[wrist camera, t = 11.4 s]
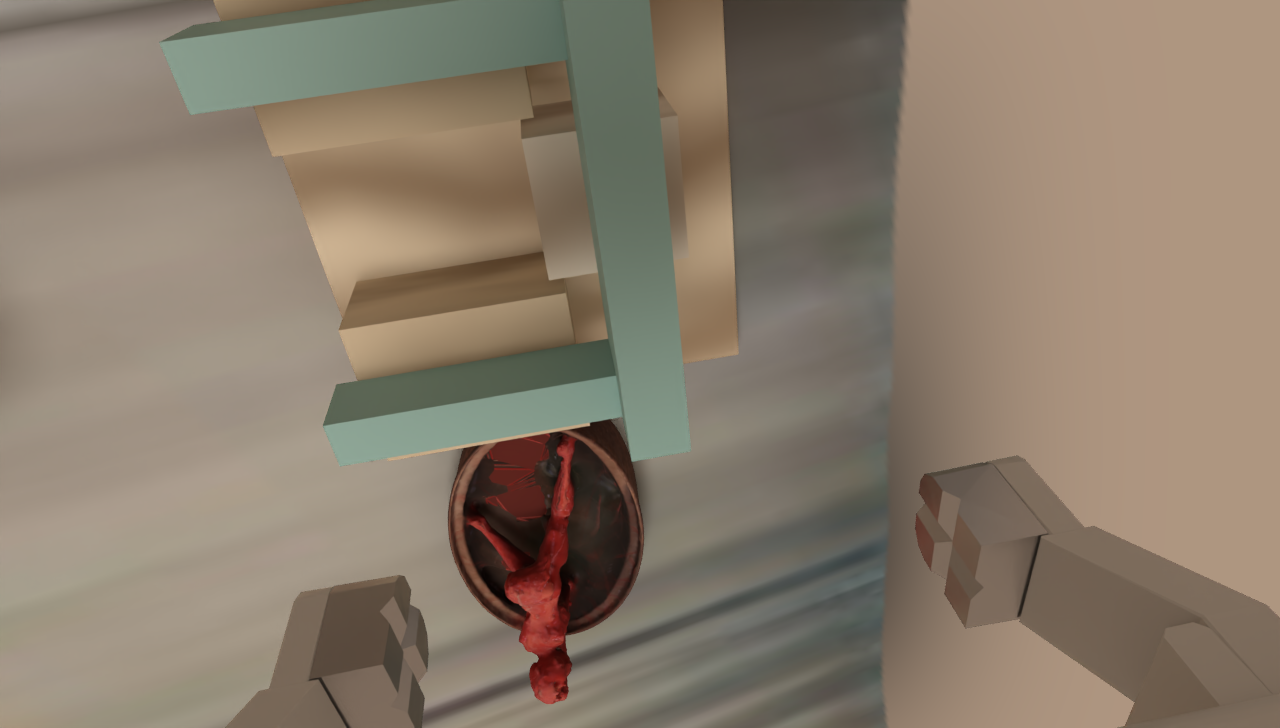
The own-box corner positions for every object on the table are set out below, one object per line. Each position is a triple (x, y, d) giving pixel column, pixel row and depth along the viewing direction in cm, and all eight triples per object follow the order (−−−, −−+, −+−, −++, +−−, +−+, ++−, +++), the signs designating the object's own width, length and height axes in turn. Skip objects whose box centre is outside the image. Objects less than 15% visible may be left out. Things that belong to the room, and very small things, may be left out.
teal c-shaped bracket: (192, 25, 21) (116, 63, 17) (621, -35, 22) (648, -12, 18) (352, 423, 29) (326, 516, 25) (665, 369, 30) (691, 451, 26)
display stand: (204, -89, 24) (141, -80, 20) (707, -155, 25) (747, -159, 21) (382, 400, 35) (365, 473, 30) (731, 340, 35) (761, 403, 31)
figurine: (688, 565, 44) (640, 753, 36) (536, 552, 47) (462, 721, 40) (623, 362, 35) (539, 556, 27) (439, 365, 38) (320, 537, 30)
